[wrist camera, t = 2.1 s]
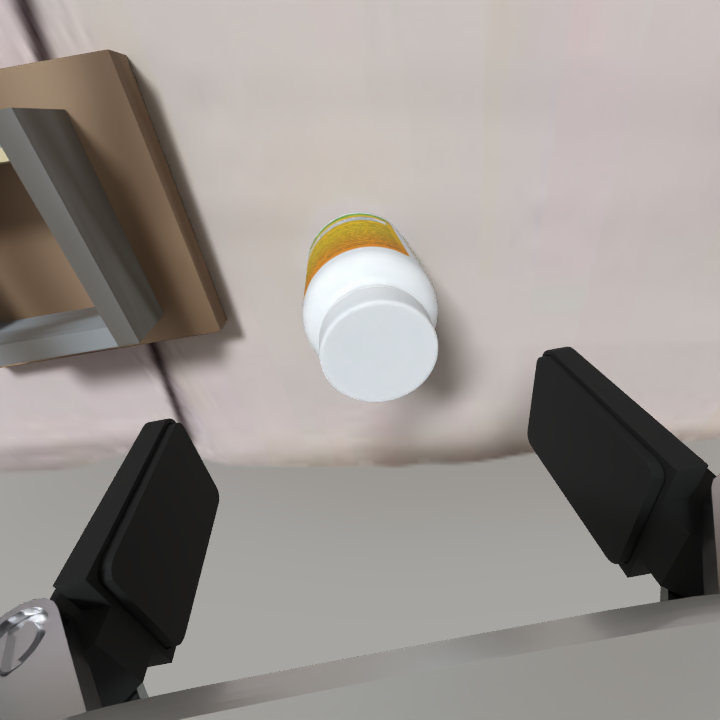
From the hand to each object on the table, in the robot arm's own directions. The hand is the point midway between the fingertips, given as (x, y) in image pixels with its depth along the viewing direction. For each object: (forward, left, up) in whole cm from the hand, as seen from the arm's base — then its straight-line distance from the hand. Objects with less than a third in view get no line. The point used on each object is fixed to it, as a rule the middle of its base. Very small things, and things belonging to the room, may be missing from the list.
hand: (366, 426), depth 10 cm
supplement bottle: (-1, 0, -13) cm, 13 cm away
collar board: (+14, -4, -13) cm, 19 cm away
